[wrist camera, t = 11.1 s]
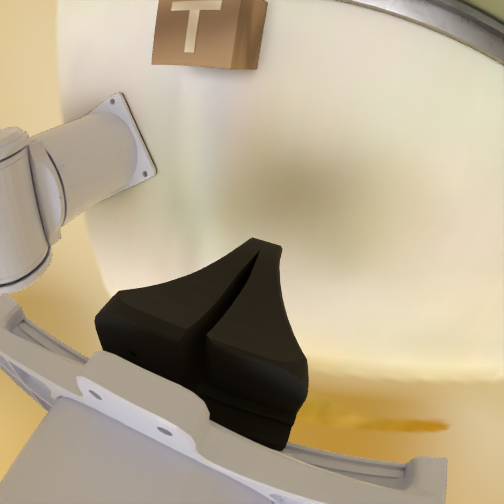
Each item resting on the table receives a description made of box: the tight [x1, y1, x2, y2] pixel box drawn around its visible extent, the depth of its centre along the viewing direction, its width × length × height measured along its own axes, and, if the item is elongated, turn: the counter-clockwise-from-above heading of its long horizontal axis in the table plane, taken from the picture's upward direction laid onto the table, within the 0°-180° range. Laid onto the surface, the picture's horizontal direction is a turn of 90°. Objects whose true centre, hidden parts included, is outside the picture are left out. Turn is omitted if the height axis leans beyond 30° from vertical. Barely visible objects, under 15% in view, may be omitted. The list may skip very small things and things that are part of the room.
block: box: [152, 0, 268, 69], centre depth 15 cm, size 5×5×5 cm
